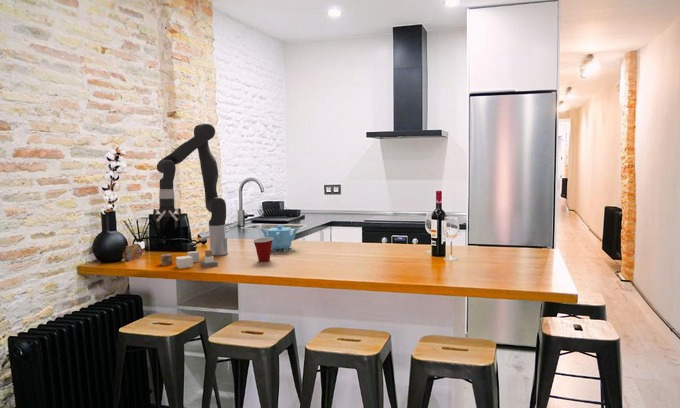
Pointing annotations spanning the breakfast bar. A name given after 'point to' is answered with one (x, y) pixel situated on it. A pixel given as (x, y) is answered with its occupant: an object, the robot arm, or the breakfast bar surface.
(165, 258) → the walnut cube
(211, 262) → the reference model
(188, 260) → the base block
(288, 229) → the teakettle
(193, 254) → the grey cube
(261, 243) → the plastic cup
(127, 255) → the stone slab
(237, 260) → the breakfast bar surface
